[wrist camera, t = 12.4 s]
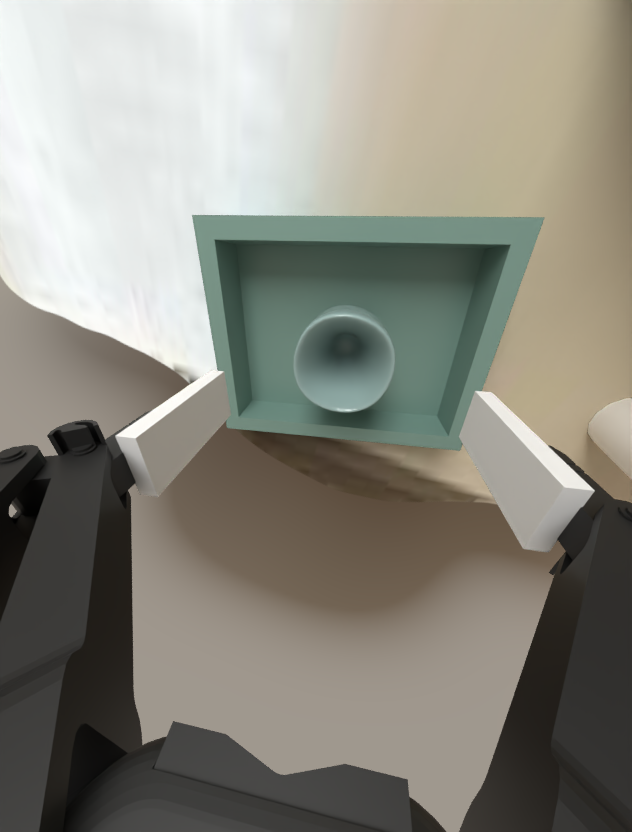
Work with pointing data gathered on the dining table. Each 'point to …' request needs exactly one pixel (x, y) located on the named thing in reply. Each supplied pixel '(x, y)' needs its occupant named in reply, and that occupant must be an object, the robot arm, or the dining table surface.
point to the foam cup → (614, 433)
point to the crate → (368, 288)
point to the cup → (344, 359)
